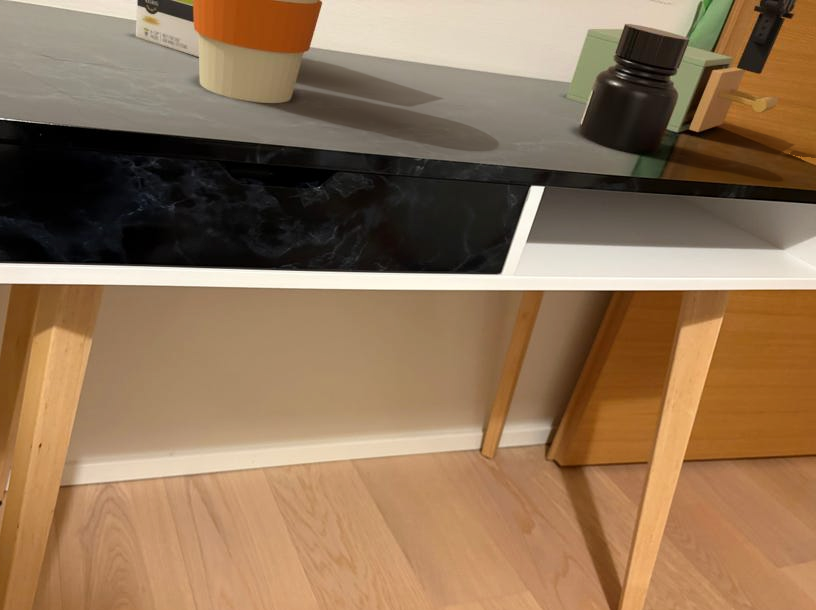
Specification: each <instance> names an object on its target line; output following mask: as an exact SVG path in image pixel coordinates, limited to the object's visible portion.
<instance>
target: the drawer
mask: <svg viewBox="0 0 816 610" xmlns="http://www.w3.org/2000/svg"><path fill="white" fill-rule="evenodd" d="M724 68H725V66H723V65H716V66H707V67H705V69H704V71H703V74H702V76H701V79H700V81H699V84H698V86H697V89H696V91H695V94H694V96H693V99H692V101H691V104H690V106H689V109H688V111H687V114H686V116H685V119H684V121H683V123H684V122H687V121H691V120H693V121H692V123H691V125H690V128H689V129H688V130H689V131H692V132H696V133H700V132H703V131H705V130H706V131H707V130H708V129H712V128H714V127H718V126H720V125H724V123H725V120H726V118H727V115H728V113H729V111H730V108H731V106H732V103H733V102H736V103H739V104H741V105H742V104H743V105H746V106H750V107H751V108H752V111H753V112H755V113H757V114H761V113H763V112H766V111H769V110H773V109H775V108H776V107H777V106H778V104H779V100H778V98H777V96H775V95H769V96H766V97H762V96H758V95H755V94H751V93H748V92H744V91H741V90H738V89H739V87H740V84H741V82H742V80H743V77H744V75H745V73H746V70H743V69H739V68H737V66H734V67H729V68H727V69H724Z"/></svg>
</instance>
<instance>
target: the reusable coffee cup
mask: <svg viewBox="0 0 816 610" xmlns="http://www.w3.org/2000/svg"><path fill="white" fill-rule="evenodd" d="M322 1H323V0H193V14H194V29H195V31H197V32H198V35H199V57H198V66H199V67H198V69H199V84H200V85H201V87H203V88H204V89H205V90H207V91H209V92H211V93H214V94H217V95H220V96H224V97H227V98H231V99H235V100H239V101H246V102H252V103H262V104H278V103H279V104H281V103H286V102H289V101H290V100H291V99H292V97H293V94H294V93H293V92H294V89H295V85H296V82H297V78H298V75H299V71H300V67H301V64H302V60H303V57H304V54H305V53H306V52H308V51H310V48H311V45H312V40H313V36H314V34H315V31H316V27H317V24H318V20H319V17H320V13H321V9H322V6H323V2H322Z"/></svg>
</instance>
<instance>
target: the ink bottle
mask: <svg viewBox="0 0 816 610" xmlns="http://www.w3.org/2000/svg"><path fill="white" fill-rule="evenodd" d="M622 29H623V31H622V34H621V37H620V40H619V43H618V46H617V49H616V52H615V55H614V57H613V59H614V61H615V62H616V65H615V66H610V67H609V68H608V70H605V71H603V72H601V73H599V74H598V75H597V77H596V79H595V82H594V85H593V88H592V90H591V93H590V96H589V99H588V102H587V104H586V105H585V109H584V111H583V114H582V116H581V117H582V118H581V120H580V124H579V127H578V133H579V134H580V136H581V137H583V138H584V139H586V140H588V141H589V142H592V143H594V144H597V145H600V146H602V147H606V148H608V149H611V150H616V151H619V152H624V153H629V154H635V155H644V156H645V155H646V156H647V155H648V156H649V155H655V154H656V153H657V152H658V151H659V150H660V146H661V144H662V141H663V139H664V136H665V134H666V131H667V130H668V129H667V126H668V124H669V121H670V118H671V116H672V113H673V111H674V108H675V106H676V103H677V100H678V92H677V90H676V89H675V88H674V83H673V81H671V80H670V77H671V76H674V75H676V74H677V69H679V66H680V64H681V61H682V59H683V56H684V53H685V51H686V48H687V46H689V43H690V38H689V37H687V36H683V35H680V34H677V33H674V32H671V31H665V30H662V29H657V28H653V27H649V26H643V25H639V24H633V23H625V24H624V27H623V28H622Z"/></svg>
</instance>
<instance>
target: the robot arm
mask: <svg viewBox="0 0 816 610" xmlns="http://www.w3.org/2000/svg"><path fill="white" fill-rule="evenodd" d="M797 1H798V0H759V4H758V5H755V6H754V7H753V11H754V12H757V13H759V14H758V16H757V19H756V21H755V24H754V25H753V28H752V31H751V33H750V35H749V38H748V40H747V42H746V45H745V47H744V50H743V52H742V54H741V56H740V59H739V61H738V63H737V66H736V67H737V68H739V69H743V70H745V72H750V73H754V74H757V75H760V74H762V72H763V71H764V67H765V65H766V63H767V61H768V58H769V57H770V54H771V51H772V50H773V47H774V46H775V45H774V44H775V42H776V40H777V38H778V37H779V36H778V35H779V34H780V32H781V29H782V27H783V24H784V22H785V20H786V19H788V20H792V19H793V18H794V16H795V13H792V11H793V10H794V8H795V7H796V5H795V4H796V3H797Z"/></svg>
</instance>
